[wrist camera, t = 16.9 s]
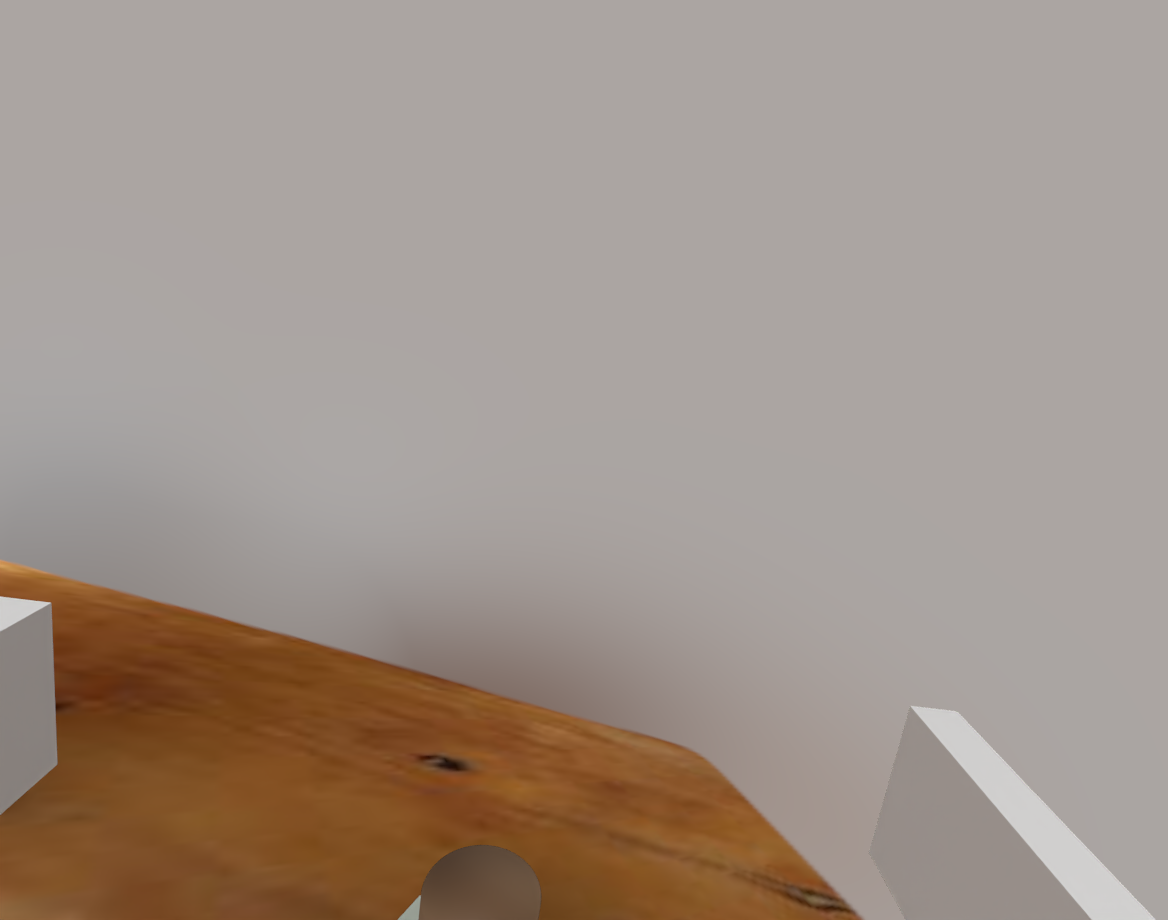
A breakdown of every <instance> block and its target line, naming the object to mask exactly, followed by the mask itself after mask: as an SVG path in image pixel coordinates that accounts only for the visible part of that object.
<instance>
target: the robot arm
mask: <svg viewBox="0 0 1168 920" xmlns="http://www.w3.org/2000/svg"><path fill="white" fill-rule="evenodd" d="M56 765H57V739H56V713H55V686H54V660H53V634H52V607H51V603H49V602H40V601H32V600H24V599H15V598H7V597H0V815H1V814H2V813H3V812H4V811H5V810H6V809H7V808H9V807H10V806H11V805H12V804H13V803H14V802H15V801H17V800H18V799H19V798H20V797H21V796H22V795H23V794H24V793H26V792H27V791H28V790H29V789H30V788H31V787H32V786H34V785H35V784H36V783H37V782H38V781H39V780H40V779H41V778H43V777H44V776H45V775H46V774H47V773H48V772H49V771H50V770H52V769H53V768H54V767H55V766H56ZM869 853H870V855H871V857H872V859H873V861H874V863H875V864H876V866H877V868H878V870H879V872H880V874H881V875H882V877H883V879H884V881H885V883H886V885H887V887H888V888H889V890H890V892H891V894H892V896H893V898H894V899H895V901H896V903H897V905H898V907H899V909H900V911H901V912H902V914H903V916H904V918H905V919H906V920H1156V919H1155V918H1154V917H1152V915H1151V914H1150V913H1149V912H1148V911H1147V910H1146V909H1145V908H1144V907H1143V906H1142V905H1141V904H1140V903H1139V902H1138V901H1137V900H1136V899H1135V897H1133V895H1132V894H1131V893H1130V892H1129V891H1128V890H1127V889H1126V888H1125V887H1124V886H1123V885H1122V884H1121V883H1120V882H1119V881H1118V880H1117V879H1116V878H1115V877H1114V875H1113V874H1112V873H1111V872H1110V871H1109V870H1108V869H1107V868H1106V867H1105V866H1104V865H1103V864H1102V863H1101V862H1100V861H1099V860H1098V859H1097V858H1096V857H1095V855H1093V853H1092V852H1091V851H1090V850H1089V849H1088V848H1087V847H1086V846H1085V845H1084V844H1083V843H1082V842H1081V841H1080V840H1079V839H1078V838H1077V837H1076V836H1075V835H1074V834H1073V833H1072V831H1071V830H1070V829H1069V828H1068V827H1067V826H1066V825H1065V824H1064V823H1063V822H1062V821H1061V820H1060V819H1059V818H1058V817H1057V816H1056V815H1055V814H1054V813H1053V812H1052V810H1051V809H1050V808H1049V807H1048V806H1047V805H1046V804H1045V803H1044V802H1043V801H1042V800H1041V799H1040V798H1039V797H1038V796H1037V795H1036V794H1035V793H1034V792H1033V791H1032V789H1031V788H1030V787H1029V786H1028V785H1027V784H1026V783H1025V782H1024V781H1023V780H1022V779H1021V778H1020V777H1019V776H1018V775H1017V774H1016V773H1015V772H1014V771H1013V770H1012V768H1010V766H1008V765H1007V763H1006V762H1005V761H1003V759H1002V758H1001V757H1000V756H999V755H998V754H997V753H996V752H995V751H994V750H993V749H992V748H991V746H990V745H989V744H988V743H987V742H986V741H985V740H984V739H983V738H982V737H981V736H980V735H979V734H978V733H977V732H976V731H975V730H974V729H973V728H972V727H971V725H969V723H968V722H967V721H966V720H965V719H964V718H963V717H962V716H961V715H960V714H959V713H958V712H957V711H949V710H941V709H933V708H924V707H916V706H910V708H909V712H908V715H907V719H906V722H905V726H904V730H903V733H902V737H901V740H900V744H899V747H898V751H897V754H896V758H895V762H894V765H893V769H892V772H891V776H890V780H889V783H888V787H887V790H886V794H885V797H884V801H883V805H882V808H881V812H880V815H879V819H878V822H877V826H876V830H875V833H874V837H873V840H872V844H871V847H870V851H869Z"/></svg>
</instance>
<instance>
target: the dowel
mask: <svg viewBox="0 0 1168 920" xmlns="http://www.w3.org/2000/svg"><path fill="white" fill-rule="evenodd" d="M540 905H541V889H540V884H539V881H538V879H537V876H536V875H535V873H534V871H533V870H532V868H531V867H530V866H529V865H528V864H527V863H526V862H525V861H524V860H523V859H522V858H521V857H519V856H518V855H516V854H514V853H513V852H511V851H508V850H506V849H503V848H500V847H496V846H489V845H475V846H468V847H464V848H461V849H458V850H455V851H453V852H451V853H449V854H448V855H446V856H444V857H443V858H442V859H440V860H439V861H438V862H437V863H436V864H435V865H434V866H433V867H432V869H431V870H430V871H429V873H428V875H427V876H426V878H425V881H424V883H423V887H422V891H421V900H420V910H419V919H418V920H538V918H539V912H540Z"/></svg>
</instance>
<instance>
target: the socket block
mask: <svg viewBox="0 0 1168 920" xmlns="http://www.w3.org/2000/svg"><path fill="white" fill-rule="evenodd" d="M420 900H421V896H419V897H418V898H417V899H416V900H415V901H414V902H413V903H412V905H411V906H410V907H409V908H408V909H407V910H406V911H405V912H404V913H403V914H402V916H401V917H400V918H399V919H398V920H418V919H419V910H420Z"/></svg>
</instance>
